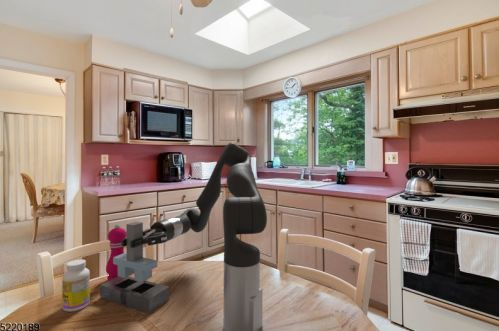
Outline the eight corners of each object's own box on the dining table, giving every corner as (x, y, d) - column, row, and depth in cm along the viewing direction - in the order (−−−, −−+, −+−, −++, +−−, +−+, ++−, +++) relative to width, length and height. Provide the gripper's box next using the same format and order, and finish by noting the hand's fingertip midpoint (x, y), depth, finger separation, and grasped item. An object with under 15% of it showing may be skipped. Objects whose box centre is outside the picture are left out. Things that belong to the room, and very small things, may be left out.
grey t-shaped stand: (157, 278, 79) (157, 224, 79) (147, 283, 75) (146, 227, 75) (124, 269, 85) (123, 219, 84) (113, 274, 81) (112, 222, 81)
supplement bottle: (61, 305, 76) (61, 261, 76) (87, 297, 80) (87, 256, 80) (63, 315, 71) (63, 268, 71) (91, 307, 75) (91, 262, 75)
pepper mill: (119, 285, 88) (119, 226, 88) (100, 283, 90) (100, 225, 90) (132, 276, 95) (132, 221, 95) (115, 274, 97) (115, 220, 97)
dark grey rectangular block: (169, 299, 79) (169, 286, 79) (149, 313, 72) (149, 299, 72) (122, 286, 87) (122, 274, 87) (100, 297, 80) (100, 284, 80)
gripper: (152, 217, 96) (110, 228, 80) (183, 221, 90) (144, 234, 74) (152, 237, 96) (110, 253, 80) (183, 242, 90) (144, 260, 74)
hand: (127, 243), depth 77 cm, fingers closed on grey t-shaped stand, 3 cm apart
